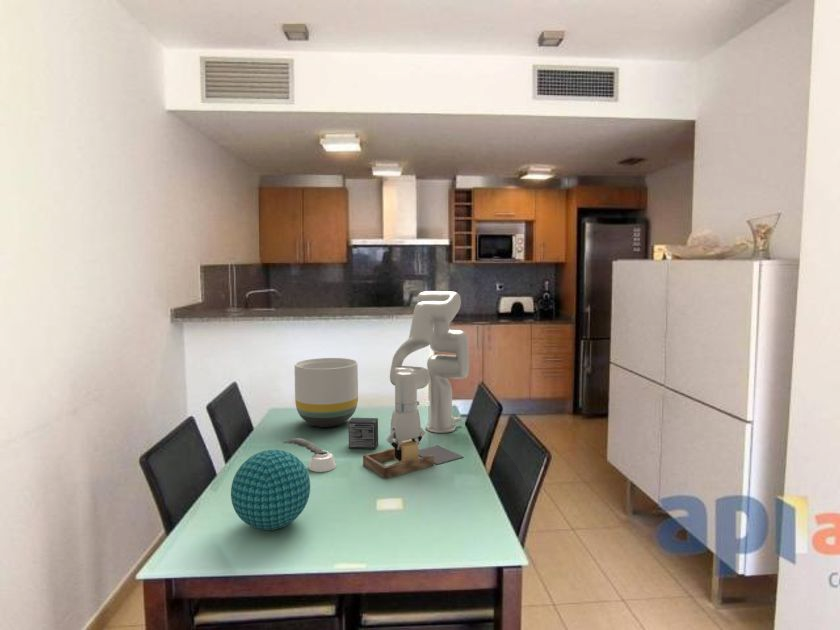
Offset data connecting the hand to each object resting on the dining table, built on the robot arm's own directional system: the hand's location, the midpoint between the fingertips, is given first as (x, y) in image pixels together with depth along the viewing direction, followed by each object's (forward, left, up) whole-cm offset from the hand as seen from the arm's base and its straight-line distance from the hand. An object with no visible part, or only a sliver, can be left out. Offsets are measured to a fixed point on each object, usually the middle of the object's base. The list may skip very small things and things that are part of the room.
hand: (406, 456), depth 182 cm
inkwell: (+29, -16, -2) cm, 33 cm away
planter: (+3, -58, -2) cm, 58 cm away
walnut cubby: (+3, 0, -2) cm, 3 cm away
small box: (+4, -24, -2) cm, 24 cm away
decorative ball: (+54, +16, -2) cm, 56 cm away
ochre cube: (0, 0, -1) cm, 1 cm away
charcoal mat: (-13, 0, -2) cm, 14 cm away
